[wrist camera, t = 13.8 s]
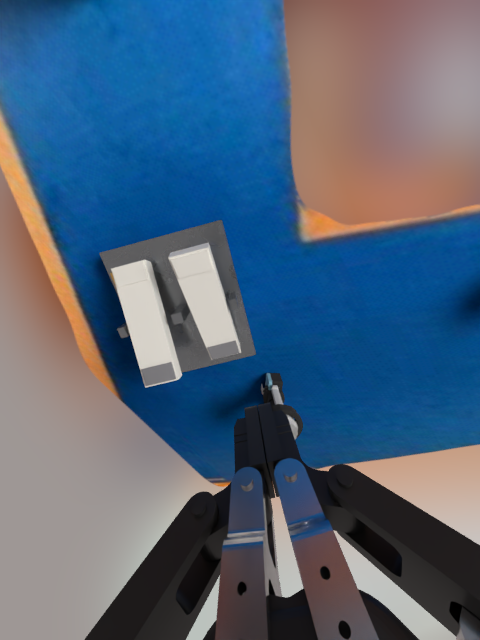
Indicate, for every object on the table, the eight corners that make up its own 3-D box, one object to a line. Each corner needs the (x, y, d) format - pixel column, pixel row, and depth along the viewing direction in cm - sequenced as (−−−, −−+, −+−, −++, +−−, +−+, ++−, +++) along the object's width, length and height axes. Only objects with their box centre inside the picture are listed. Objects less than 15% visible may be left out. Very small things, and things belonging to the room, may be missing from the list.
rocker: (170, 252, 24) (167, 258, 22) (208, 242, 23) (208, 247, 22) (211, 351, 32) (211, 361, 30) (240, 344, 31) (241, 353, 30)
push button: (283, 405, 39) (300, 458, 30) (251, 404, 39) (258, 458, 29) (288, 371, 37) (308, 416, 27) (255, 370, 37) (263, 415, 27)
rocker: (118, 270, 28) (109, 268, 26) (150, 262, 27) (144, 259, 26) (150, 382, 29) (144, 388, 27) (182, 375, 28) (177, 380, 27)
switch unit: (108, 252, 30) (75, 256, 24) (222, 221, 29) (219, 216, 23) (158, 369, 36) (142, 398, 30) (254, 346, 35) (259, 370, 29)
